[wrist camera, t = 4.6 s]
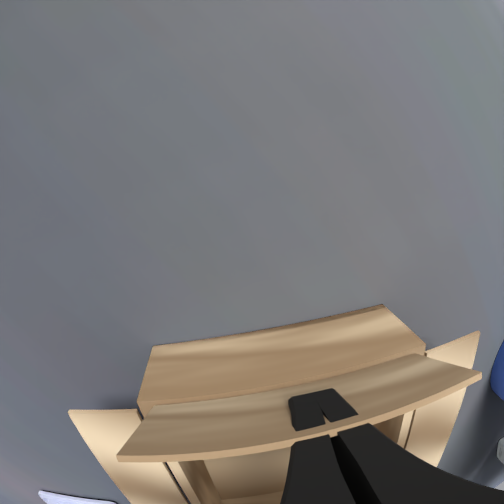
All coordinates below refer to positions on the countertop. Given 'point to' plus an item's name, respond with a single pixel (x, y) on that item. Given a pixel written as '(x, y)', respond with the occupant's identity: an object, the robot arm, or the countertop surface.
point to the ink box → (501, 450)
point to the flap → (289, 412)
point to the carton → (262, 380)
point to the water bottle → (498, 374)
